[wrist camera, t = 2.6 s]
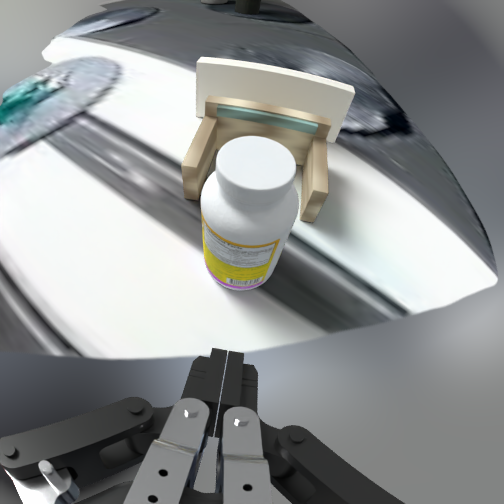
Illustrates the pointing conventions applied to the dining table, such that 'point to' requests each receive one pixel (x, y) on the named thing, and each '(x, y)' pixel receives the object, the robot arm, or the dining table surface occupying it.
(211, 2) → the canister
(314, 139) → the cradle
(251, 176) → the supplement bottle
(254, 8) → the sushi
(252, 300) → the dining table surface
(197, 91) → the backstop board
